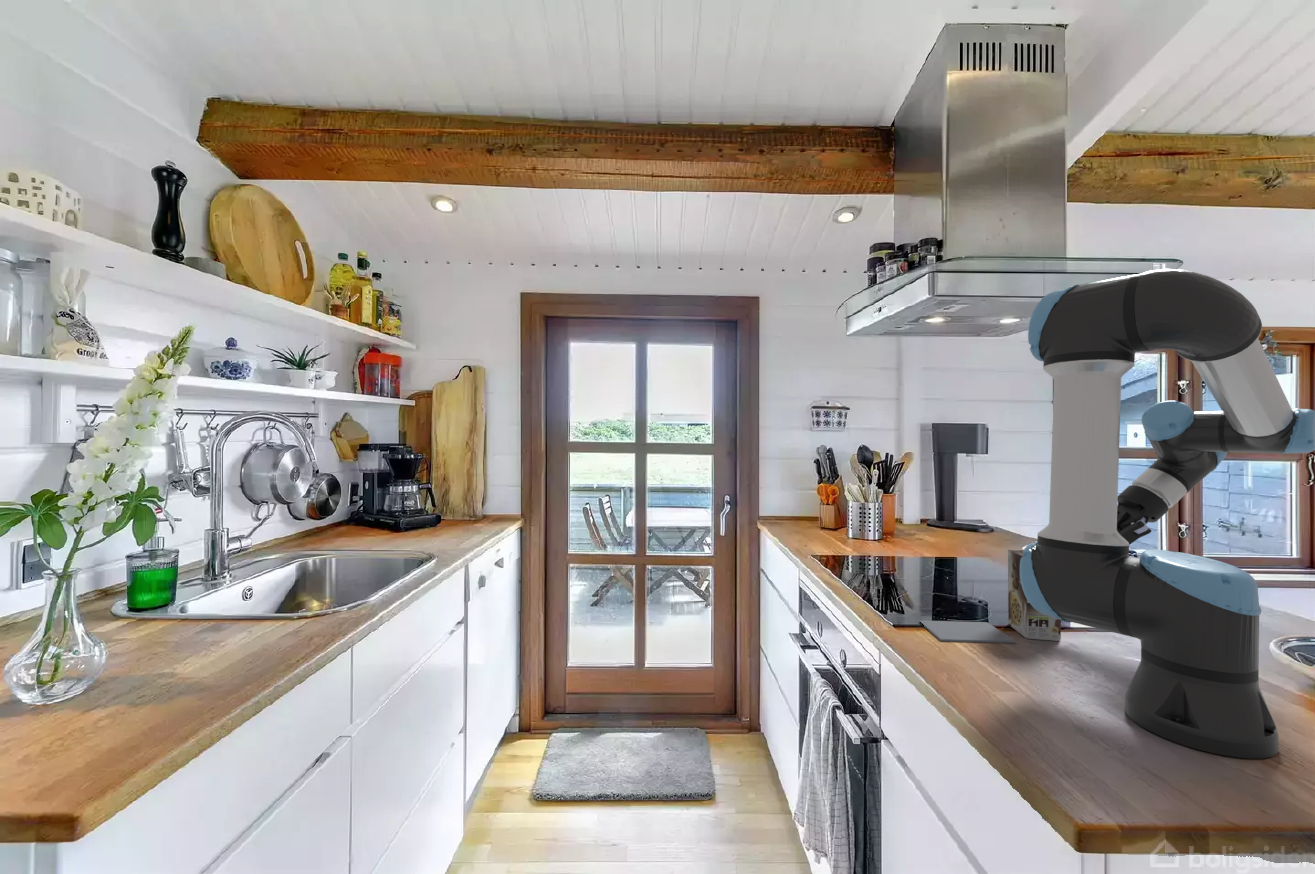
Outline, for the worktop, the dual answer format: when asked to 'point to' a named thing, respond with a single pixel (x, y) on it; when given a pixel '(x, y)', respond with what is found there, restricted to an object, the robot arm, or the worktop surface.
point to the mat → (966, 632)
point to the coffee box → (1027, 607)
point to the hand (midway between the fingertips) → (1061, 577)
